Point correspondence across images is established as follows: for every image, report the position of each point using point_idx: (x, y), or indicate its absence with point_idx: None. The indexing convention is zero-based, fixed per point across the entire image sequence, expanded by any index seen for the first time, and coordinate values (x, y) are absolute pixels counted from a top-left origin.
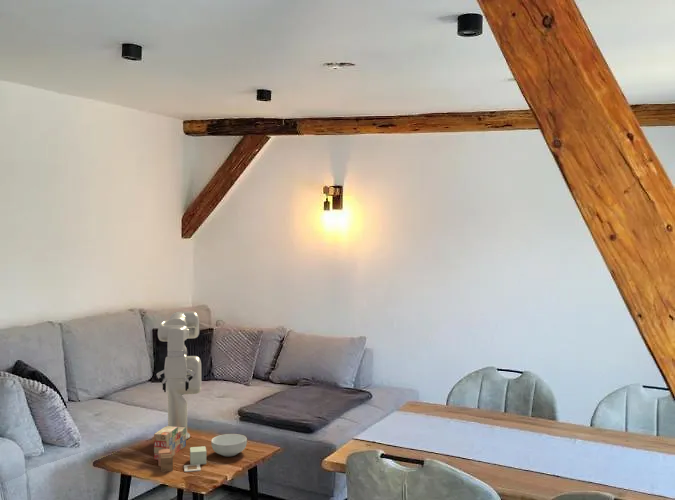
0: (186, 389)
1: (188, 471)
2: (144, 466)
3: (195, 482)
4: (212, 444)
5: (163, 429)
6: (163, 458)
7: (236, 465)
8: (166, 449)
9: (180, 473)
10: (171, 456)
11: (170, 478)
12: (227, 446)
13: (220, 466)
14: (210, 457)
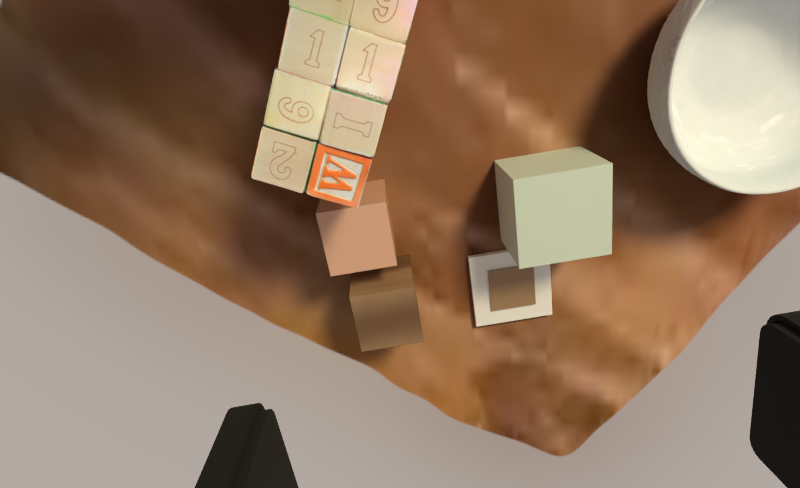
0: (793, 476)
1: (493, 321)
2: (262, 243)
3: (526, 424)
4: (662, 125)
5: (302, 63)
6: (374, 348)
7: (726, 255)
8: (366, 213)
9: (458, 337)
10: (415, 328)
11: (419, 385)
12: (750, 193)
13: (647, 263)
14: (611, 127)
